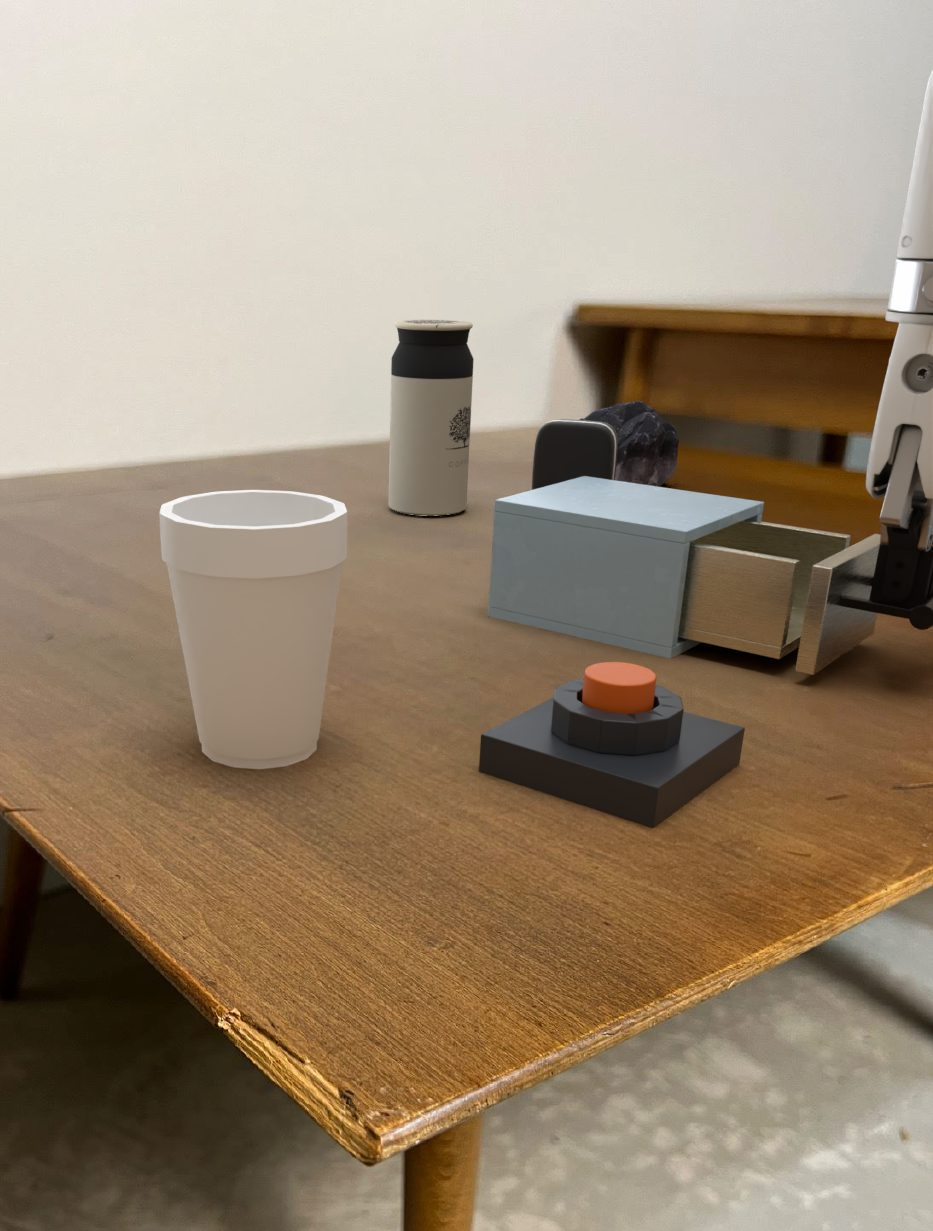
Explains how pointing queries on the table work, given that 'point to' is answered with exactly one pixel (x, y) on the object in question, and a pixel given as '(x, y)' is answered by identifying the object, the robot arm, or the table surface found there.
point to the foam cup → (255, 616)
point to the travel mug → (430, 417)
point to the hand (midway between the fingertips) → (898, 607)
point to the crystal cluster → (641, 443)
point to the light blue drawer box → (603, 559)
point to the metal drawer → (785, 592)
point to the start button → (619, 687)
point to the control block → (613, 754)
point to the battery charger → (574, 451)
